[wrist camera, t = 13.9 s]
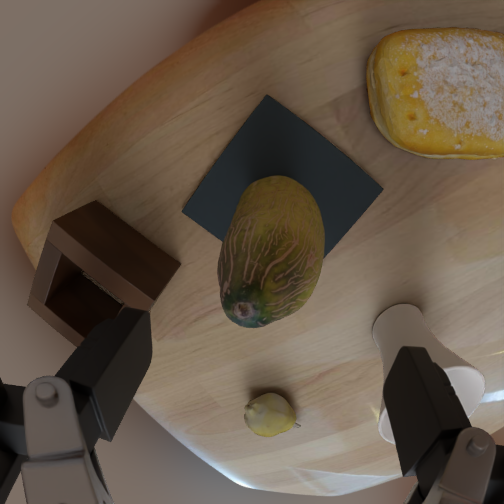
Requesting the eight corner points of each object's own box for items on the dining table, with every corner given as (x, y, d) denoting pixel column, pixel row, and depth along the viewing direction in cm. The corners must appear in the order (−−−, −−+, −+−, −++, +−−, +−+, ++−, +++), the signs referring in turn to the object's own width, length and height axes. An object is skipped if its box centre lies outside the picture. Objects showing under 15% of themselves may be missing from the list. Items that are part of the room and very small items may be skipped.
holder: (63, 275, 37) (26, 305, 29) (96, 199, 32) (52, 220, 25) (135, 331, 38) (109, 371, 31) (181, 263, 34) (154, 301, 27)
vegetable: (282, 152, 29) (277, 195, 10) (326, 202, 30) (386, 322, 11) (234, 195, 30) (156, 303, 12) (278, 242, 32) (267, 397, 13)
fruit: (284, 429, 43) (228, 407, 40) (310, 401, 42) (254, 376, 39) (296, 455, 37) (235, 436, 34) (325, 426, 37) (265, 404, 34)
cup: (341, 351, 36) (356, 442, 24) (379, 276, 32) (422, 357, 20) (410, 366, 36) (441, 447, 24) (451, 299, 32) (505, 373, 20)
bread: (343, 37, 24) (362, 10, 17) (536, 42, 19) (577, 35, 12) (376, 172, 29) (404, 187, 21) (556, 147, 24) (598, 158, 16)
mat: (182, 210, 32) (181, 211, 32) (267, 94, 27) (266, 94, 27) (292, 290, 34) (292, 292, 34) (382, 188, 29) (383, 189, 29)
